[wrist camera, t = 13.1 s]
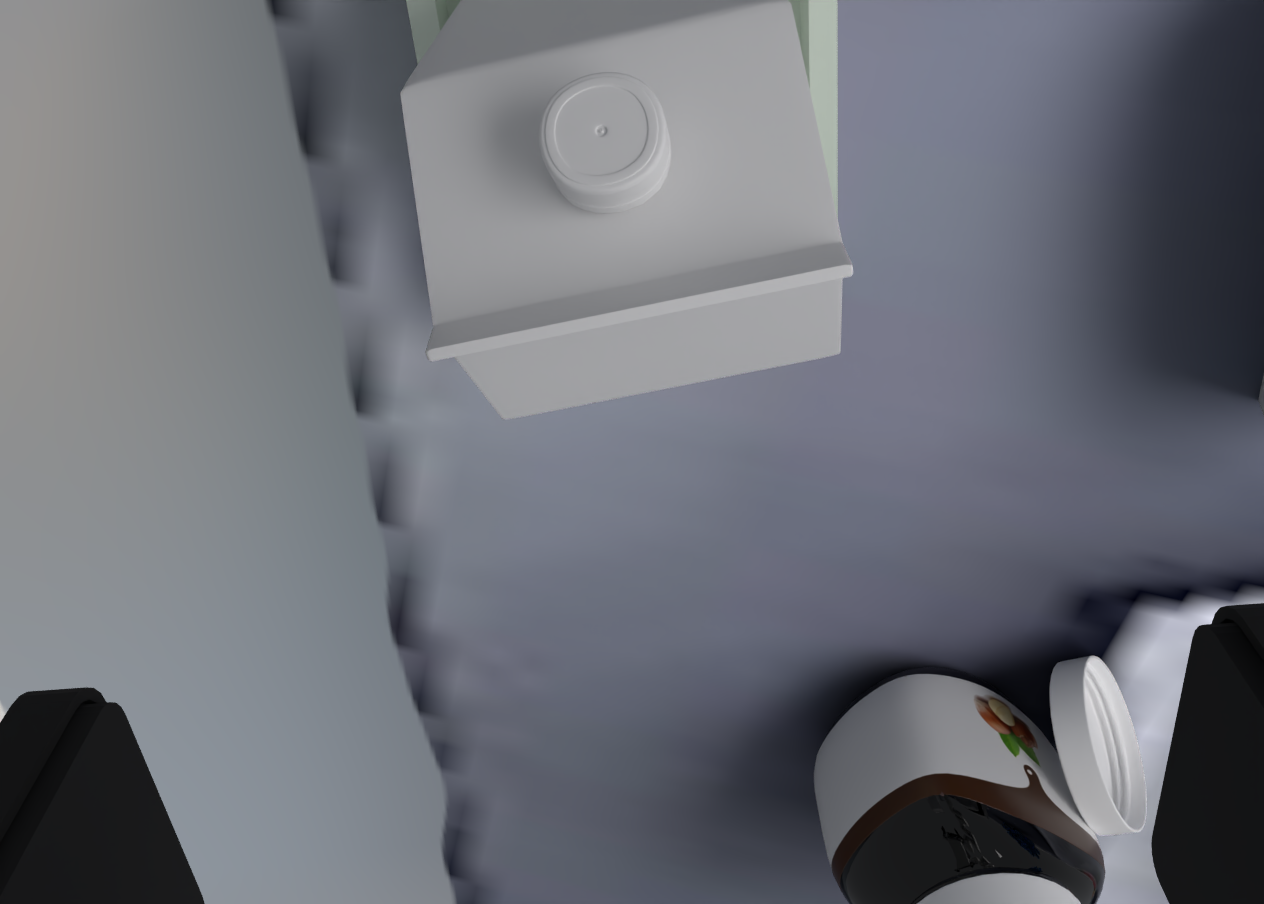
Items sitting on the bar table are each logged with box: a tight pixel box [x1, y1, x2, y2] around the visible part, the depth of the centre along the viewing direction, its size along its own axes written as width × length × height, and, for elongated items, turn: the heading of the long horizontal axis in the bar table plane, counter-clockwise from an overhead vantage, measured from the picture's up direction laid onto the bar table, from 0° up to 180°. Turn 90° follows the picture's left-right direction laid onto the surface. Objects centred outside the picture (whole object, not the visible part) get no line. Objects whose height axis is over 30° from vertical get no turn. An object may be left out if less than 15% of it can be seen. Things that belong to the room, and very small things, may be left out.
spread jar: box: [814, 655, 1147, 904], centre depth 45 cm, size 12×11×12 cm
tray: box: [406, 0, 837, 215], centre depth 35 cm, size 15×12×2 cm
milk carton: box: [400, 0, 853, 419], centre depth 27 cm, size 7×7×19 cm
